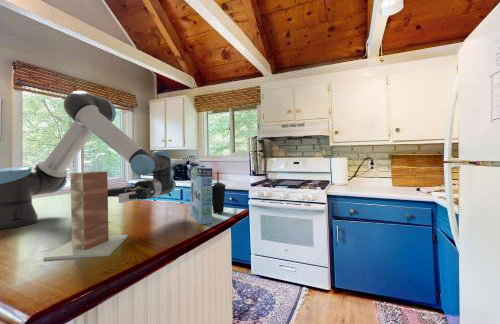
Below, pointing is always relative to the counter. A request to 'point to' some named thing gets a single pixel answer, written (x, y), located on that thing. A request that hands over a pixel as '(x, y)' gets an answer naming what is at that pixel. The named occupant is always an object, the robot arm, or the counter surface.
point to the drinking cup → (218, 196)
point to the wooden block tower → (89, 209)
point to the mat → (96, 251)
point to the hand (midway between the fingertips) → (102, 197)
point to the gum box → (201, 194)
